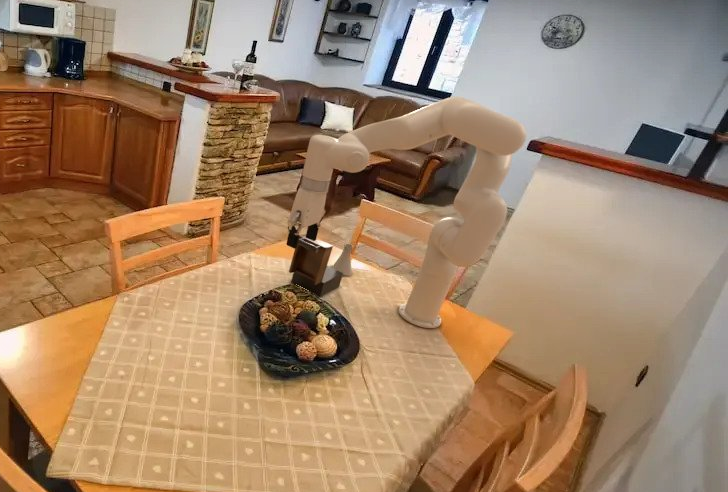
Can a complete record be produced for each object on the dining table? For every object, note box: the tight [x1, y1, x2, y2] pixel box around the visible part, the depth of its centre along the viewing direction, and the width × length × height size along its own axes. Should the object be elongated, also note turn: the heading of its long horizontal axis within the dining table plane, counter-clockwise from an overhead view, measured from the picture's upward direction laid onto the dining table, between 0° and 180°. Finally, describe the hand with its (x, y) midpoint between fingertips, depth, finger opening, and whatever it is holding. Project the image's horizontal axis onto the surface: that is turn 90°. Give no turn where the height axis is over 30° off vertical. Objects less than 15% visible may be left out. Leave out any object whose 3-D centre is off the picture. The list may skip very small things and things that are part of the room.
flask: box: [331, 242, 354, 276], centre depth 171 cm, size 7×7×10 cm
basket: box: [288, 233, 334, 285], centre depth 149 cm, size 12×10×8 cm
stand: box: [290, 265, 344, 298], centre depth 160 cm, size 12×11×5 cm
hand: (301, 242), depth 141 cm, fingers open, 9 cm apart
